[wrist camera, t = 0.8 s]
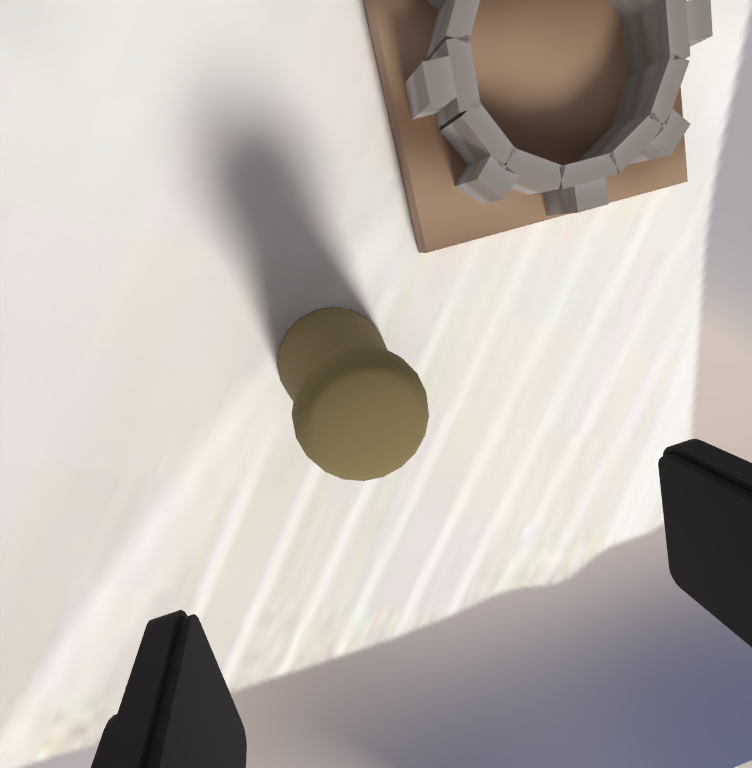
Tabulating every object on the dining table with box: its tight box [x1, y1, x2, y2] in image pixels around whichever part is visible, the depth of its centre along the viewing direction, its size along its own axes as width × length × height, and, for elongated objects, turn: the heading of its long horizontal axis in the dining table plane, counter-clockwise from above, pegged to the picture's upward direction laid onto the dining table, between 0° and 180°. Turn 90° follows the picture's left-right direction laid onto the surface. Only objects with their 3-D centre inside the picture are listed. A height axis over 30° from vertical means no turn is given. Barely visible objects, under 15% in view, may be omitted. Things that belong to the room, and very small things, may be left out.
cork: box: [277, 307, 429, 481], centre depth 24 cm, size 6×6×11 cm
